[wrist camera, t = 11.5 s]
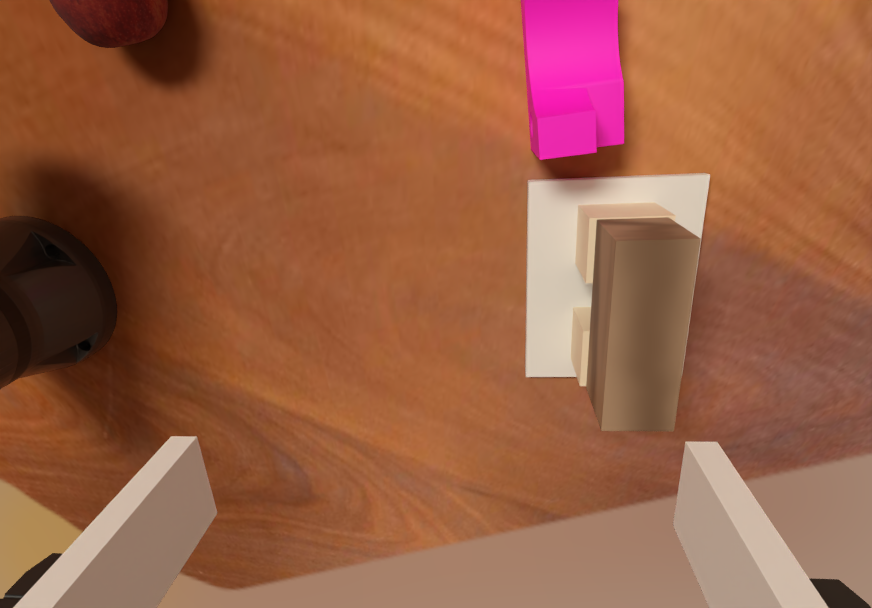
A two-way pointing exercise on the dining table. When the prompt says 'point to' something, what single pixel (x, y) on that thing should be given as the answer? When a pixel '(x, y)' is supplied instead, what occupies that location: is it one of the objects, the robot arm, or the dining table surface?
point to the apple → (113, 20)
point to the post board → (560, 247)
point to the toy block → (572, 76)
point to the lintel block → (639, 321)
